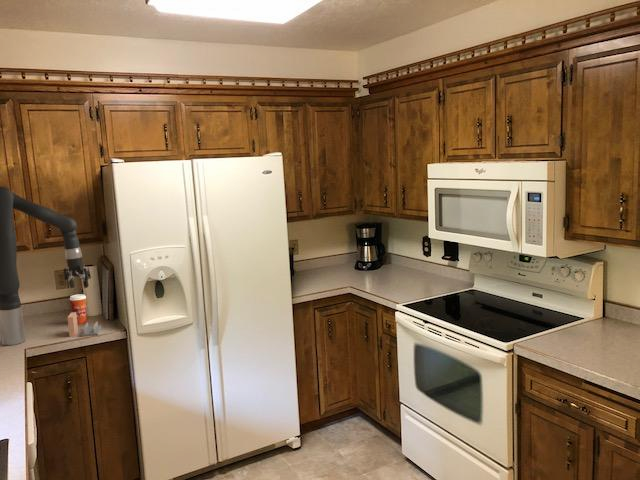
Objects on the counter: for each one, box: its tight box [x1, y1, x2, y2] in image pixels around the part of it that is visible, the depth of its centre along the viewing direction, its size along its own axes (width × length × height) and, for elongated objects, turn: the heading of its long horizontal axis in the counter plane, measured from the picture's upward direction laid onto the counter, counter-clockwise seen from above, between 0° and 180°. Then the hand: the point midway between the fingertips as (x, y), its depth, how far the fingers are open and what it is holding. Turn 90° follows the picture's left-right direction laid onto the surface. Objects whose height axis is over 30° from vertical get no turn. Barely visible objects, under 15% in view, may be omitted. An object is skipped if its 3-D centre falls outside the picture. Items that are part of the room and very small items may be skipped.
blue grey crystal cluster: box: [79, 321, 102, 338], centre depth 269 cm, size 8×13×4 cm, turn 15°
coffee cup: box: [69, 293, 87, 325], centre depth 285 cm, size 8×8×15 cm
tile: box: [67, 311, 79, 338], centre depth 267 cm, size 9×2×10 cm, turn 15°
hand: (79, 287), depth 272 cm, fingers open, 8 cm apart
